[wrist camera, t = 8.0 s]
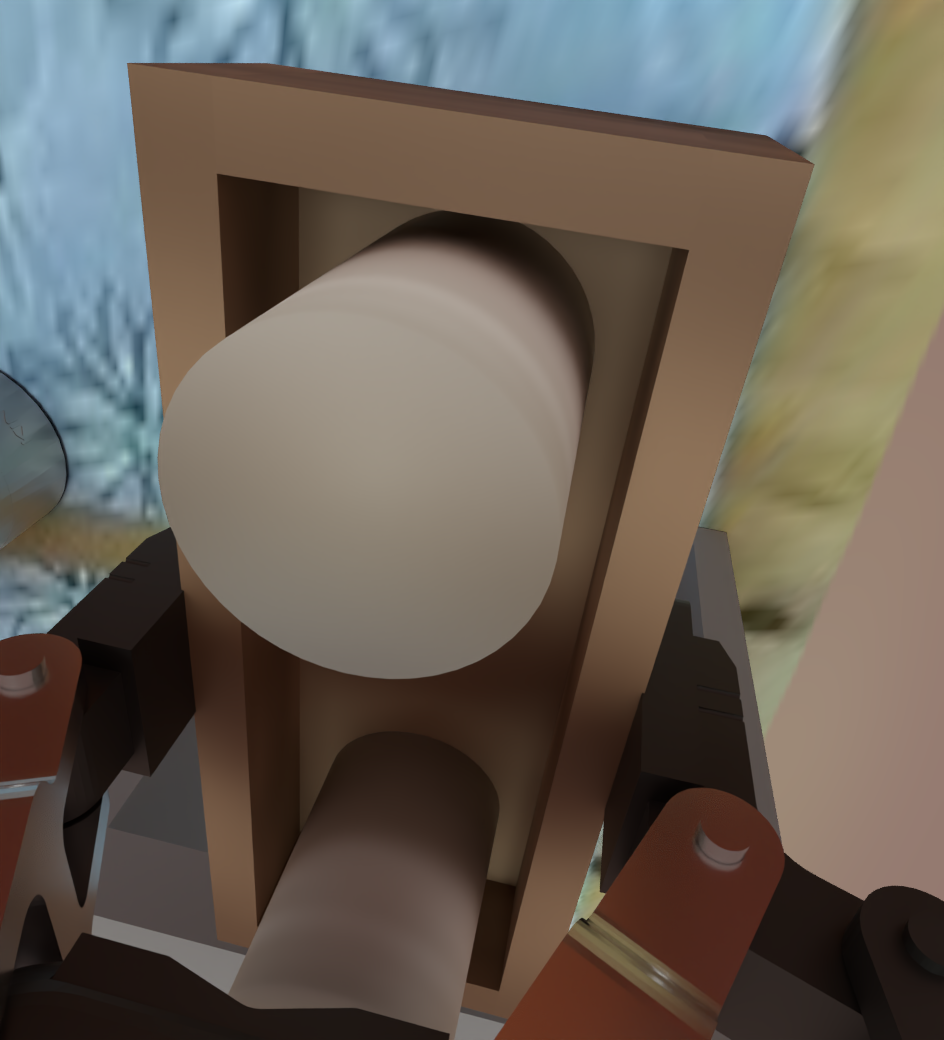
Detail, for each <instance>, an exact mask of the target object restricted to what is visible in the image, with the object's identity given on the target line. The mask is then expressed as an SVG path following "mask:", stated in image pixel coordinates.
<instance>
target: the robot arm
mask: <svg viewBox="0 0 944 1040" xmlns="http://www.w3.org/2000/svg"><path fill="white" fill-rule="evenodd" d="M65 482H66V465H65V457H64V454H63V451H62V448H61V445H60V441H59V439H58V437H57V435H56V433H55V431H54V429H53V427H52V425H51V423H50V422H49V420H48V419H47V417H46V416H45V415H44V413H43V412H42V411H41V409H40V408H39V406H38V405H37V404H36V403H35V402H34V401H33V400H32V399H31V398H30V397H29V396H28V395H27V394H26V393H25V392H24V390H23V389H22V388H20V387H19V386H18V385H17V384H15V383H14V382H13V381H11V380H10V379H9V378H7V377H6V376H5V375H4V374H2V373H0V549H2V548H3V547H4V546H6V545H7V544H8V543H10V542H11V541H12V540H13V539H15V538H16V537H17V536H19V535H20V534H21V533H23V532H24V531H25V530H27V529H28V528H29V527H31V526H32V525H33V524H35V523H36V522H37V521H39V520H40V519H41V518H43V517H44V516H45V515H46V514H48V513H49V512H50V511H51V510H52V509H53V508H54V507H55V506H56V505H57V504H58V502H59V501H60V498H61V496H62V494H63V492H64V489H65ZM195 713H196V707H195V697H194V687H193V677H192V667H191V657H190V647H189V637H188V627H187V617H186V607H185V597H184V590H181V581H180V572H179V562H178V552H177V542H176V538H175V536H174V533H173V531H172V529H171V527H170V528H168V529H166V530H164V531H161V532H159V533H157V534H155V535H153V536H151V537H149V538H147V539H146V540H145V541H144V542H143V543H141V544H140V545H139V546H138V547H137V548H136V549H135V550H134V551H133V552H132V553H131V554H130V555H129V556H128V557H127V558H126V562H121V563H120V564H119V565H118V566H117V567H116V568H115V569H114V570H113V571H112V572H111V573H110V576H109V578H105V579H104V580H102V581H101V582H100V583H99V584H98V585H97V586H96V587H95V588H94V589H93V590H92V591H91V592H90V593H89V594H88V595H87V596H86V597H85V598H84V599H82V600H81V601H80V602H79V603H78V604H77V605H76V606H75V607H74V608H73V609H72V610H71V611H70V612H69V613H68V614H67V615H66V616H65V617H63V618H62V619H61V620H60V621H59V622H58V623H57V624H56V625H55V626H54V627H53V628H52V629H51V630H50V631H49V632H48V633H47V634H43V633H36V634H24V635H19V636H14V637H10V638H7V639H4V640H1V641H0V1040H449V1036H450V1034H449V1033H446V1032H442V1031H438V1030H435V1029H431V1028H427V1027H424V1026H420V1025H417V1024H413V1023H409V1022H406V1021H402V1020H399V1019H395V1018H391V1017H388V1016H384V1015H380V1014H377V1013H373V1012H370V1011H366V1010H362V1009H359V1008H293V1009H257V1008H251V1007H247V1006H245V1005H243V1004H241V1003H240V1002H238V1001H237V1000H235V999H234V998H232V997H231V996H229V995H228V994H226V993H225V992H223V991H221V990H220V989H218V988H217V987H215V986H214V985H212V984H211V983H209V982H208V981H206V980H205V979H203V978H202V977H200V976H199V975H197V974H196V973H194V972H192V971H191V970H189V969H188V968H186V967H185V966H183V965H182V964H180V963H179V962H177V961H176V960H174V959H173V958H171V957H170V956H167V955H163V954H160V953H156V952H152V951H149V950H145V949H141V948H138V947H134V946H131V945H127V944H123V943H120V942H116V941H112V940H109V939H105V938H102V937H98V936H94V935H92V924H93V915H94V909H95V902H96V895H97V889H98V882H99V875H100V868H101V862H102V855H103V848H104V842H105V835H106V828H107V821H108V815H109V808H110V796H109V791H108V788H109V786H110V785H111V784H112V782H113V781H114V780H115V778H116V777H117V776H118V774H119V773H120V772H121V770H124V771H128V772H132V773H136V774H140V775H144V776H148V777H151V776H152V774H153V773H154V771H155V770H156V769H157V767H158V766H159V764H160V763H161V761H162V760H163V759H164V757H165V756H166V754H167V753H168V751H169V750H170V748H171V747H172V746H173V744H174V743H175V741H176V740H177V738H178V737H179V736H180V734H181V733H182V731H183V730H184V728H185V727H186V725H187V724H188V723H189V721H190V720H191V718H192V717H193V715H194V714H195ZM743 717H744V715H743V709H742V702H741V699H740V688H739V681H738V674H737V667H736V666H735V664H734V663H733V661H732V660H731V658H730V657H729V655H728V654H727V652H726V651H725V649H724V648H723V646H722V645H721V643H720V642H719V641H716V640H711V639H707V638H702V637H697V636H693V629H692V616H691V605H690V602H689V601H687V600H682V599H677V598H675V600H674V603H673V607H672V610H671V613H670V616H669V619H668V622H667V625H666V628H665V631H664V635H663V638H662V641H661V644H660V647H659V650H658V653H657V656H656V659H655V663H654V666H653V669H652V672H651V675H650V678H649V681H648V684H647V688H646V691H645V693H642V694H641V697H640V700H639V704H638V707H637V710H636V713H635V716H634V719H633V722H632V726H631V729H630V732H629V735H628V738H627V741H626V744H625V748H624V751H623V754H622V757H621V760H620V763H619V766H618V770H617V773H616V776H615V779H614V782H613V785H612V788H611V792H610V795H609V798H608V801H607V804H606V807H605V812H604V829H603V846H602V862H601V879H600V892H602V893H606V894H605V896H604V897H603V899H602V900H601V902H600V903H599V905H598V906H597V908H596V909H595V910H594V912H593V913H592V915H591V916H590V917H589V918H588V919H587V920H585V919H584V918H581V919H579V920H578V921H577V922H576V923H575V924H574V925H573V927H572V928H571V929H570V930H569V932H568V933H567V934H566V936H565V937H564V939H563V940H562V941H561V943H560V944H559V946H558V947H557V949H556V950H555V952H554V953H553V954H552V956H551V957H550V959H549V960H548V962H547V963H546V965H545V966H544V968H543V969H542V970H541V972H540V973H539V975H538V976H537V978H536V979H535V981H534V982H533V984H532V985H531V986H530V988H529V989H528V991H527V992H526V994H525V995H524V997H523V998H522V1000H521V1001H520V1002H519V1004H518V1005H517V1007H516V1008H515V1010H514V1011H513V1013H512V1014H511V1016H510V1017H509V1018H508V1020H507V1021H506V1023H505V1024H504V1026H503V1027H502V1029H501V1030H500V1032H499V1033H498V1034H497V1036H496V1037H495V1039H494V1040H711V1038H712V1036H713V1034H714V1031H715V1030H716V1031H718V1032H720V1033H721V1034H723V1035H724V1036H726V1037H727V1038H729V1039H731V1040H944V901H942V900H940V899H939V898H937V897H935V896H932V895H930V894H928V893H926V892H923V891H920V890H917V889H914V888H909V887H904V886H888V887H882V888H880V889H877V890H875V891H873V892H872V893H871V894H869V895H868V897H867V898H866V899H865V901H863V900H861V899H859V898H857V897H856V896H854V895H852V894H850V893H848V892H846V891H844V890H842V889H840V888H838V887H837V886H835V885H832V884H831V883H829V882H827V881H825V880H823V879H821V878H819V877H817V876H816V875H814V874H812V873H810V872H809V871H807V870H806V869H804V868H803V867H801V866H800V865H798V864H797V863H796V862H794V861H793V860H792V859H791V858H790V857H789V856H788V855H787V854H785V853H784V850H783V846H782V844H781V841H780V838H779V837H778V835H777V833H776V831H775V829H774V828H773V827H772V825H771V824H770V823H769V821H768V820H767V819H766V818H765V817H764V816H763V815H762V814H761V813H760V812H759V811H758V809H757V805H756V798H755V791H754V784H753V777H752V770H751V764H750V757H749V750H748V743H747V736H746V729H745V722H743Z"/></svg>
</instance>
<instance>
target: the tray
mask: <svg viewBox="0 0 944 1040" xmlns="http://www.w3.org/2000/svg"><path fill="white" fill-rule="evenodd" d="M127 65H128V75H129V85H130V95H131V104H132V114H133V124H134V134H135V143H136V153H137V163H138V172H139V182H140V192H141V202H142V211H143V221H144V231H145V241H146V250H147V260H148V270H149V280H150V289H151V299H152V309H153V319H154V328H155V338H156V348H157V357H158V367H159V377H160V387H161V396H162V406H163V416H164V421H163V424H162V428H161V432H160V439H159V449H158V476H159V485H160V490H161V496H162V501H163V505H164V508H165V511H166V515H167V518H168V521H169V524H170V527H171V529H172V531H173V533H174V536H175V538H176V542H177V552H178V562H179V572H180V581H181V590H184V597H185V607H186V617H187V627H188V637H189V647H190V657H191V667H192V677H193V687H194V697H195V707H196V713H195V714H194V718H195V727H196V737H197V747H198V757H199V766H200V776H201V786H202V796H203V805H204V815H205V825H206V835H207V844H208V854H209V864H210V873H211V883H212V893H213V903H214V912H215V922H216V932H217V940H220V941H224V942H227V943H231V944H235V945H238V946H242V947H246V948H249V949H248V951H247V954H246V956H245V958H244V960H243V962H242V965H241V967H240V969H239V971H238V973H237V976H236V978H235V980H234V982H233V985H232V987H231V989H230V991H229V993H228V995H229V996H231V997H232V998H234V999H235V1000H237V1001H238V1002H240V1003H241V1004H243V1005H245V1006H247V1007H251V1008H257V1009H293V1008H359V1009H362V1010H366V1011H370V1012H373V1013H377V1014H380V1015H384V1016H388V1017H391V1018H395V1019H399V1020H402V1021H406V1022H409V1023H413V1024H417V1025H420V1026H424V1027H427V1028H431V1029H435V1030H438V1031H442V1032H446V1033H449V1034H450V1036H449V1040H454V1039H455V1034H456V1029H457V1024H458V1019H459V1014H460V1009H461V1006H462V1007H466V1008H469V1009H473V1010H477V1011H480V1012H484V1013H488V1014H491V1015H495V1016H499V1017H502V1018H506V1019H508V1018H509V1017H510V1016H511V1014H512V1013H513V1011H514V1010H515V1008H516V1007H517V1005H518V1004H519V1002H520V1001H521V1000H522V998H523V997H524V995H525V994H526V992H527V991H528V989H529V988H530V986H531V985H532V984H533V982H534V981H535V979H536V978H537V976H538V975H539V973H540V972H541V970H542V969H543V968H544V966H545V965H546V963H547V962H548V960H549V959H550V957H551V956H552V954H553V953H554V952H555V950H556V949H557V947H558V946H559V944H560V943H561V941H562V940H563V939H564V937H565V936H566V934H567V933H568V930H569V927H570V924H571V921H572V918H573V915H574V912H575V909H576V905H577V902H578V899H579V896H580V893H581V890H582V887H583V884H584V881H585V877H586V874H587V871H588V868H589V865H590V862H591V859H592V856H593V853H594V849H595V846H596V843H597V840H598V837H599V834H600V831H601V828H602V825H603V821H604V812H605V807H606V804H607V801H608V798H609V795H610V792H611V788H612V785H613V782H614V779H615V776H616V773H617V770H618V766H619V763H620V760H621V757H622V754H623V751H624V748H625V744H626V741H627V738H628V735H629V732H630V729H631V726H632V722H633V719H634V716H635V713H636V710H637V707H638V704H639V700H640V697H641V694H642V693H645V691H646V688H647V684H648V681H649V678H650V675H651V672H652V669H653V666H654V663H655V659H656V656H657V653H658V650H659V647H660V644H661V641H662V638H663V635H664V631H665V628H666V625H667V622H668V619H669V616H670V613H671V610H672V607H673V603H674V600H675V597H676V594H677V591H678V588H679V585H680V582H681V579H682V575H683V572H684V569H685V566H686V563H687V560H688V557H689V554H690V551H691V547H692V544H693V541H694V538H695V535H696V532H697V529H698V526H699V522H700V519H701V516H702V513H703V510H704V507H705V504H706V501H707V498H708V494H709V491H710V488H711V485H712V482H713V479H714V476H715V473H716V470H717V466H718V463H719V460H720V457H721V454H722V451H723V448H724V445H725V442H726V438H727V435H728V432H729V429H730V426H731V423H732V420H733V417H734V414H735V410H736V407H737V404H738V401H739V398H740V395H741V392H742V389H743V385H744V382H745V379H746V376H747V373H748V370H749V367H750V364H751V361H752V357H753V354H754V351H755V348H756V345H757V342H758V339H759V336H760V333H761V329H762V326H763V323H764V320H765V317H766V314H767V311H768V308H769V305H770V301H771V298H772V295H773V292H774V289H775V286H776V283H777V280H778V277H779V273H780V270H781V267H782V264H783V261H784V258H785V255H786V252H787V248H788V245H789V242H790V239H791V236H792V233H793V230H794V227H795V224H796V220H797V217H798V214H799V211H800V208H801V205H802V202H803V199H804V196H805V192H806V189H807V186H808V183H809V180H810V177H811V174H812V171H813V168H814V164H813V163H811V162H810V161H808V160H806V159H805V158H803V157H801V156H800V155H798V154H796V153H795V152H793V151H791V150H790V149H788V148H786V147H785V146H783V145H781V144H780V143H778V142H776V141H775V140H773V139H771V138H770V137H768V136H766V135H759V134H752V133H745V132H739V131H732V130H725V129H718V128H711V127H704V126H697V125H690V124H683V123H676V122H669V121H663V120H656V119H649V118H642V117H635V116H628V115H621V114H614V113H607V112H600V111H593V110H586V109H580V108H573V107H566V106H559V105H552V104H545V103H538V102H531V101H524V100H517V99H510V98H504V97H497V96H490V95H483V94H476V93H469V92H462V91H455V90H448V89H441V88H434V87H427V86H421V85H414V84H407V83H400V82H393V81H386V80H379V79H372V78H365V77H358V76H351V75H345V74H338V73H331V72H324V71H317V70H310V69H303V68H296V67H289V66H282V65H275V64H268V63H127Z"/></svg>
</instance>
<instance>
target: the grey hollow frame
mask: <svg viewBox="0 0 944 1040" xmlns="http://www.w3.org/2000/svg"><path fill="white" fill-rule="evenodd" d="M675 598H677V599H682V600H687V601H689V602H690V605H691V616H692V629H693V636H697V637H702V638H707V639H711V640H716V641H719V642H720V643H721V645H722V646H723V648H724V649H725V651H726V652H727V654H728V655H729V657H730V658H731V660H732V661H733V663H734V664H735V666H736V667H737V674H738V681H739V688H740V699H741V702H742V709H743V715H744V717H743V722H745V729H746V736H747V743H748V750H749V757H750V764H751V770H752V777H753V784H754V791H755V798H756V805H757V809H758V811H759V812H760V813H761V814H762V815H763V816H764V817H765V818H766V819H767V820H768V821H769V823H770V824H771V825H772V827H773V828H774V829H775V831H776V833H777V835H778V837H779V838H780V841H781V836H780V831H779V825H778V819H777V814H776V808H775V802H774V797H773V791H772V786H771V780H770V774H769V769H768V763H767V757H766V752H765V746H764V741H763V735H762V729H761V724H760V718H759V712H758V707H757V701H756V696H755V690H754V684H753V679H752V673H751V668H750V662H749V656H748V651H747V645H746V640H745V634H744V628H743V623H742V617H741V612H740V606H739V600H738V595H737V589H736V583H735V578H734V572H733V567H732V561H731V555H730V550H729V544H728V539H727V533H726V532H721V531H716V530H711V529H706V528H701V527H698V529H697V532H696V535H695V538H694V541H693V544H692V547H691V551H690V554H689V557H688V560H687V563H686V566H685V569H684V572H683V575H682V579H681V582H680V585H679V588H678V591H677V594H676V597H675ZM108 791H109V796H110V808H109V815H108V821H107V828H106V835H105V842H104V848H103V855H102V862H101V868H100V875H99V882H98V889H97V895H96V902H95V909H94V915H93V924H92V935H94V936H98V937H102V938H105V939H109V940H112V941H116V942H120V943H123V944H127V945H131V946H134V947H138V948H141V949H145V950H149V951H152V952H156V953H160V954H163V955H167V956H170V957H171V958H173V959H174V960H176V961H177V962H179V963H180V964H182V965H183V966H185V967H186V968H188V969H189V970H191V971H192V972H194V973H196V974H197V975H199V976H200V977H202V978H203V979H205V980H206V981H208V982H209V983H211V984H212V985H214V986H215V987H217V988H218V989H220V990H221V991H223V992H225V993H226V994H228V993H229V991H230V989H231V987H232V985H233V982H234V980H235V978H236V976H237V973H238V971H239V969H240V967H241V965H242V962H243V960H244V958H245V956H246V954H247V951H248V949H249V948H246V947H242V946H238V945H235V944H231V943H227V942H224V941H220V940H217V932H216V922H215V912H214V903H213V893H212V883H211V873H210V864H209V854H208V844H207V835H206V825H205V815H204V805H203V796H202V786H201V776H200V766H199V757H198V747H197V737H196V727H195V718H194V715H193V717H192V718H191V720H190V721H189V723H188V724H187V725H186V727H185V728H184V730H183V731H182V733H181V734H180V736H179V737H178V738H177V740H176V741H175V743H174V744H173V746H172V747H171V748H170V750H169V751H168V753H167V754H166V756H165V757H164V759H163V760H162V761H161V763H160V764H159V766H158V767H157V769H156V770H155V771H154V773H153V774H152V776H151V777H148V776H144V775H140V774H136V773H132V772H128V771H124V770H121V772H120V773H119V774H118V776H117V777H116V778H115V780H114V781H113V782H112V784H111V785H110V786H109V788H108ZM781 844H782V842H781ZM507 1020H508V1019H506V1018H502V1017H499V1016H495V1015H491V1014H488V1013H484V1012H480V1011H477V1010H473V1009H469V1008H466V1007H462V1006H461V1009H460V1014H459V1019H458V1024H457V1029H456V1034H455V1039H454V1040H494V1039H495V1037H496V1036H497V1034H498V1033H499V1032H500V1030H501V1029H502V1027H503V1026H504V1024H505V1023H506V1021H507ZM711 1040H731V1039H729V1038H727V1037H726V1036H724V1035H723V1034H721V1033H720V1032H718V1031H716V1030H715V1031H714V1034H713V1036H712V1038H711Z"/></svg>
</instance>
